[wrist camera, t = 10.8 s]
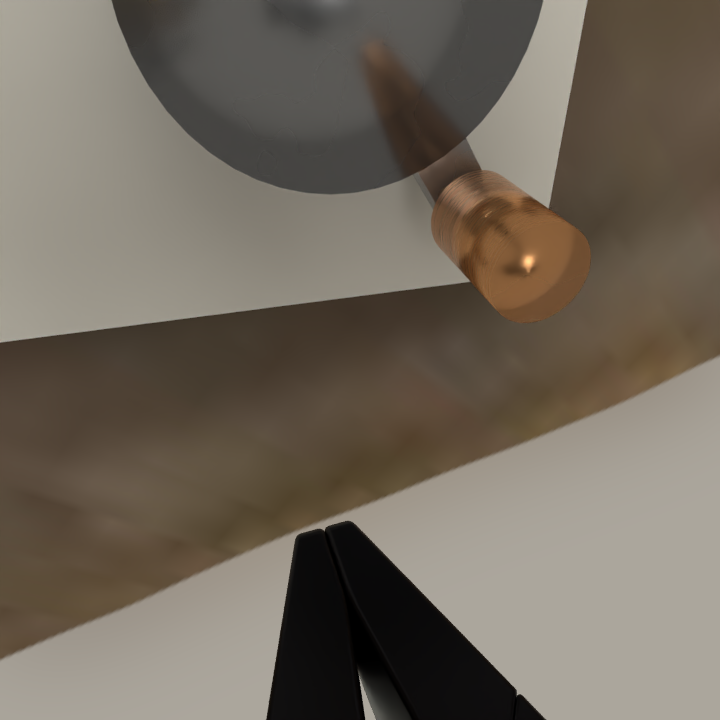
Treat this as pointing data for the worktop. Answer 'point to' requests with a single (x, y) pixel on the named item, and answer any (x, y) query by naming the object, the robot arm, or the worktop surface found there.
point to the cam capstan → (368, 116)
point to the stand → (208, 188)
